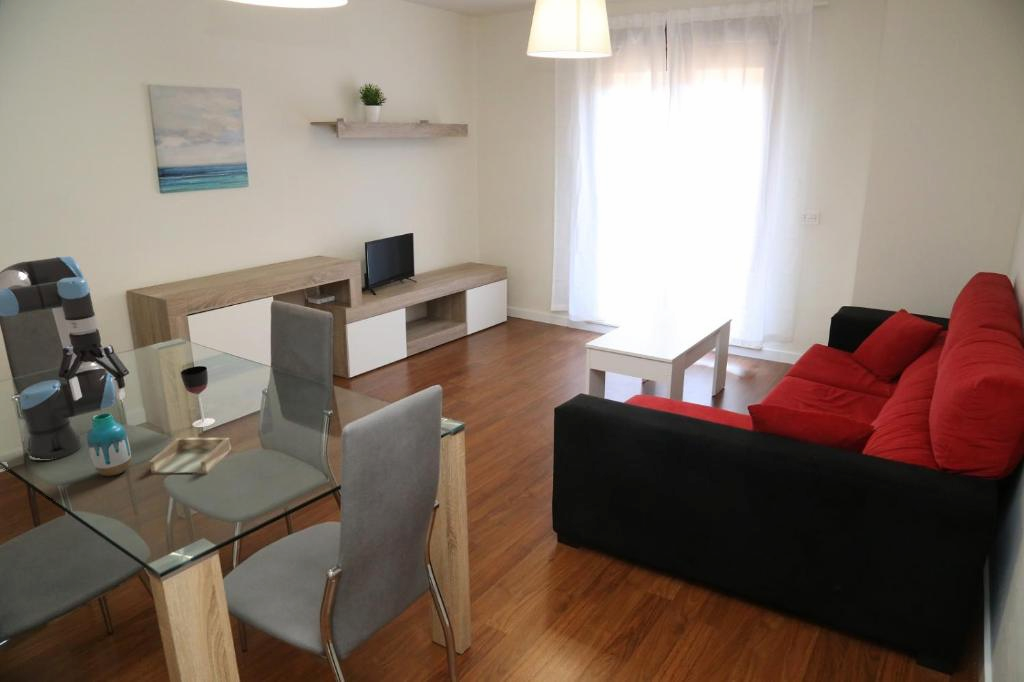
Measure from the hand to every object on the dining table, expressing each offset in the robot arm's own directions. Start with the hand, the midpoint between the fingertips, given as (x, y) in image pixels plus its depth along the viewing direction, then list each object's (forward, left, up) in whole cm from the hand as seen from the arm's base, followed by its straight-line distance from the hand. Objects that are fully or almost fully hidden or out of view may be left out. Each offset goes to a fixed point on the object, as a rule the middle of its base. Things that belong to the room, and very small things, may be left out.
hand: (99, 398), depth 209 cm
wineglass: (+10, +35, -25) cm, 44 cm away
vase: (0, -1, -25) cm, 25 cm away
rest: (+21, +6, -25) cm, 33 cm away
